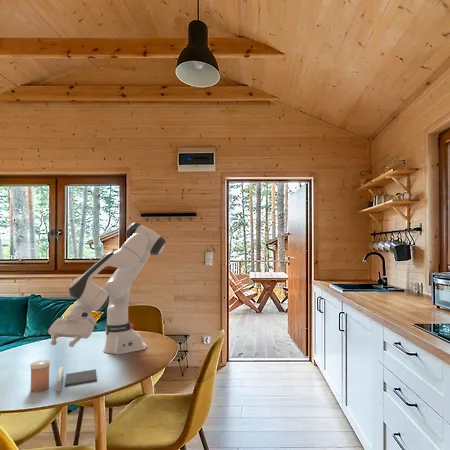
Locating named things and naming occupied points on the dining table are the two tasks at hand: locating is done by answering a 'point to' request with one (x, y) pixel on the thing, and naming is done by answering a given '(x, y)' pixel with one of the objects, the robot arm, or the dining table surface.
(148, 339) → the dining table surface
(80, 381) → the plate
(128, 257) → the robot arm
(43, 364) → the jar
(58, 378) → the divider
